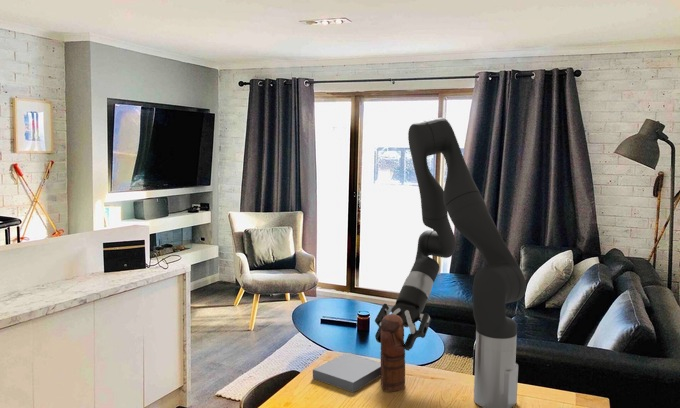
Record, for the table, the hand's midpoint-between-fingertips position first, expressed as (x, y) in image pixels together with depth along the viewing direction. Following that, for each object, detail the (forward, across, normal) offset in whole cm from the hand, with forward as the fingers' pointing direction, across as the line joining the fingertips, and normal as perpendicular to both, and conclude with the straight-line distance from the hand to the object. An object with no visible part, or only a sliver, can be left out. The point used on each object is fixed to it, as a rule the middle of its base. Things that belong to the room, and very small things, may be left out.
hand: (391, 345), depth 142 cm
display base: (+9, -11, +5) cm, 15 cm away
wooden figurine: (+7, +1, +7) cm, 10 cm away
